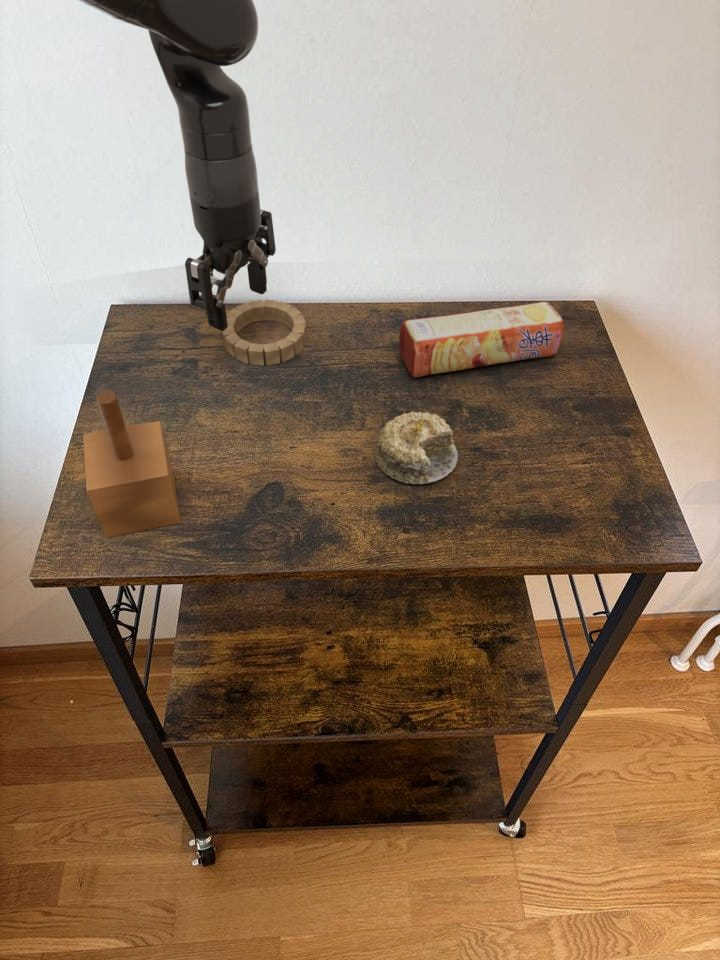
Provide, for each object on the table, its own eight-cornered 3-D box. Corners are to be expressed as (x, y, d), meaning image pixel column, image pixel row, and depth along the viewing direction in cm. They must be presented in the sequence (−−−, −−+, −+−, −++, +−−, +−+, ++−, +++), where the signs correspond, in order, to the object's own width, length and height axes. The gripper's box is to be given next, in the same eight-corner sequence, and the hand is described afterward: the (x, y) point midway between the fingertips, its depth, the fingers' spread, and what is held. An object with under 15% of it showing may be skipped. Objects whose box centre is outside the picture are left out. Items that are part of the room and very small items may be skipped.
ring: (231, 371, 96) (229, 357, 94) (218, 320, 103) (215, 306, 101) (314, 357, 98) (313, 343, 96) (295, 308, 105) (295, 294, 103)
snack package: (540, 331, 103) (550, 291, 98) (560, 361, 99) (572, 320, 94) (395, 353, 99) (398, 312, 94) (410, 386, 95) (414, 344, 90)
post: (106, 538, 78) (63, 434, 66) (101, 483, 83) (61, 376, 71) (181, 522, 80) (153, 418, 68) (172, 469, 85) (145, 363, 73)
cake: (360, 473, 86) (358, 440, 82) (393, 420, 92) (392, 387, 88) (440, 497, 83) (442, 464, 79) (469, 440, 89) (472, 407, 85)
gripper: (233, 151, 85) (246, 272, 97) (153, 206, 77) (180, 330, 89) (287, 167, 82) (294, 289, 95) (212, 226, 74) (230, 350, 87)
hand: (239, 309), depth 92 cm, fingers open, 8 cm apart
